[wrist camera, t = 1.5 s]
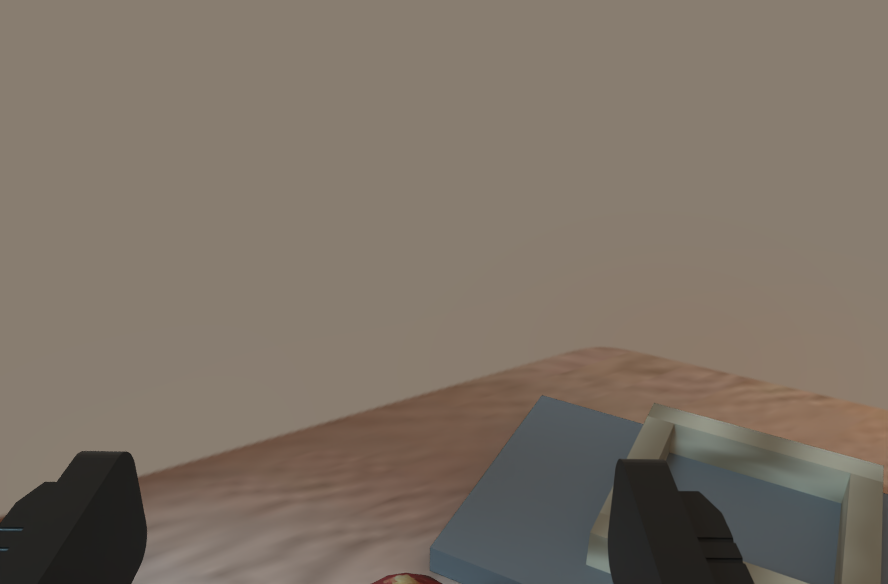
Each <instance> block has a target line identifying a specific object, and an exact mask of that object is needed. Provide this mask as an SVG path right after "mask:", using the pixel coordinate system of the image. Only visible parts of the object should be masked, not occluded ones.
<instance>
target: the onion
mask: <svg viewBox="0 0 888 584" xmlns="http://www.w3.org/2000/svg"><path fill="white" fill-rule="evenodd" d="M372 584H442V583H440V582H438V581H437V580H435V579H433V578H431V577H430V576H426V575H418V574H410V573H402V574H395V575H388V576H386V577H384V578H382V579H380V580H378V581H376V582H374V583H372Z"/></svg>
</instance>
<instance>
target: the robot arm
mask: <svg viewBox="0 0 888 584" xmlns="http://www.w3.org/2000/svg"><path fill="white" fill-rule="evenodd" d="M146 541H147V526H146V520H145V514H144V509H143V504H142V499H141V493H140V488H139V483H138V478H137V473H136V467H135V463H134V459H133V457H132V455H131V454H130V453H129V452H105V451H101V452H99V451H82V452H80V453H78V454H77V455H76V456H75V457H74V459H73V460H72V462H71V463H70V464H69V466H68V467H67V469H66V470H65V471H64V473H63V474H62V475H61V477H60V478H59V480H58V481H57V482H44V483H43V484H41V485H40V486H38V487H37V488H36V489H34V490H33V491H32V492H30V493H29V494H27V495H26V496H25V497H23V498H22V499H20V500H19V501H18V502H16V503H15V505H14V506H13V507H12V509H11V510H10V511H9V512H8V514H7V515H6V516H5V518H4V519H3V520H2V522H1V523H0V584H131V583H132V581H133V579H134V577H135V575H136V573H137V571H138V569H139V567H140V565H141V563H142V560H143V557H144V553H145V548H146ZM608 559H609V567H610V572H611V576H612V580H613V584H755V583H754V581H753V579H752V577H751V575H750V573H749V570H748V568H747V566H746V564H745V563H743V557H742V555H741V553H740V551H739V549H738V547H737V544H736V543H734V541H733V536H732V534H731V531H730V529H729V527H728V525H727V523H726V521H725V518H724V516H723V514H722V512H721V511H719V510H718V509H717V508H716V507H715V506H714V505H713V504H712V503H711V502H710V501H709V500H708V499H707V498H706V497H705V496H704V495H703V494H702V493H700V492H699V491H678V489H677V486H676V484H675V481H674V479H673V476H672V474H671V471H670V469H669V466H668V464H667V462H666V461H665V460H664V459H618V461H617V464H616V468H615V476H614V485H613V493H612V502H611V511H610V519H609V528H608Z"/></svg>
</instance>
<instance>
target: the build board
mask: <svg viewBox="0 0 888 584" xmlns="http://www.w3.org/2000/svg"><path fill="white" fill-rule="evenodd" d="M642 426H643V424H641V423H637V422H634V421H630V420H627V419H623V418H620V417H616V416H613V415H609V414H606V413H602V412H599V411H595V410H592V409H588V408H585V407H581V406H578V405H574V404H571V403H567V402H564V401H560V400H557V399H553V398H550V397H546V396H543V395H542V396H541V397H540V399H539V400H538V401H537V403H536V404H535V405H534V407H533V408H532V410H531V411H530V412H529V414H528V415H527V416H526V418H525V419H524V420H523V422H522V423H521V424H520V426H519V427H518V429H517V430H516V431H515V433H514V434H513V435H512V437H511V438H510V439H509V441H508V442H507V444H506V445H505V446H504V448H503V449H502V450H501V452H500V453H499V454H498V456H497V457H496V459H495V460H494V461H493V463H492V464H491V465H490V467H489V468H488V469H487V471H486V472H485V473H484V475H483V476H482V478H481V479H480V480H479V482H478V483H477V484H476V486H475V487H474V488H473V490H472V491H471V493H470V494H469V495H468V497H467V498H466V499H465V501H464V502H463V503H462V505H461V506H460V507H459V509H458V510H457V512H456V513H455V514H454V516H453V517H452V518H451V520H450V521H449V522H448V524H447V525H446V527H445V528H444V529H443V531H442V532H441V533H440V535H439V536H438V537H437V539H436V540H435V542H434V543H433V544H432V546H431V547H430V571H433V572H435V573H438V574H440V575H443V576H445V577H447V578H450V579H452V580H455V581H457V582H460V583H462V584H613V580H612V576H611V574H610V573H607V572H604V571H602V570H599V569H596V568H594V567H591V566H588V565H586V560H587V553H588V545H589V537H590V532H591V530H592V528H593V526H594V523H595V521H596V519H597V517H598V515H599V513H600V511H601V509H602V507H603V505H604V503H605V501H606V499H607V497H608V495H609V493H610V491H611V489H612V487H613V485H614V476H615V468H616V464H617V461H618V459H627V457H628V455H629V453H630V451H631V449H632V447H633V445H634V443H635V441H636V439H637V437H638V435H639V433H640V430H641V428H642ZM666 462H667V464H668V466H669V469H670V471H671V474H672V476H673V479H674V481H675V484H676V486H677V489H678V491H699V492H700V493H702V494H703V495H704V496H705V497H706V498H707V499H708V500H709V501H710V502H711V503H712V504H713V505H714V506H715V507H716V508H717V509H718V510H719V511H721V512H722V514H723V516H724V518H725V521H726V523H727V525H728V527H729V529H730V531H731V534H732V536H733V541H734V543H736V544H737V547H738V549H739V551H740V553H741V555H742V557H743V561H744V562H747V563H750V564H753V565H756V566H759V567H762V568H765V569H768V570H770V571H773V572H776V573H779V574H782V575H785V576H788V577H791V578H794V579H797V580H800V581H803V582H806V583H809V584H834V577H835V566H836V555H837V545H838V534H839V523H840V513H841V503H838V502H834V501H831V500H828V499H824V498H821V497H818V496H814V495H811V494H808V493H804V492H801V491H797V490H794V489H791V488H787V487H784V486H781V485H777V484H774V483H771V482H767V481H764V480H760V479H757V478H754V477H750V476H747V475H744V474H740V473H737V472H733V471H730V470H727V469H723V468H720V467H717V466H713V465H710V464H707V463H703V462H700V461H696V460H693V459H690V458H686V457H683V456H680V455H676V454H673V453H670V452H669V454H668V456H667V459H666ZM881 584H888V494H885V493H883V511H882V553H881Z"/></svg>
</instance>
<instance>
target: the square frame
mask: <svg viewBox="0 0 888 584" xmlns="http://www.w3.org/2000/svg"><path fill="white" fill-rule="evenodd" d="M669 452H670V453H673V454H676V455H680V456H683V457H686V458H690V459H693V460H696V461H700V462H703V463H707V464H710V465H713V466H717V467H720V468H723V469H727V470H730V471H733V472H737V473H740V474H744V475H747V476H750V477H754V478H757V479H760V480H764V481H767V482H771V483H774V484H777V485H781V486H784V487H787V488H791V489H794V490H797V491H801V492H804V493H808V494H811V495H814V496H818V497H821V498H824V499H828V500H831V501H834V502H838V503H841V513H840V523H839V534H838V545H837V555H836V566H835V577H834V584H881V553H882V511H883V469H884V466H883V465H879V464H875V463H872V462H868V461H865V460H861V459H857V458H854V457H850V456H846V455H843V454H839V453H835V452H832V451H828V450H824V449H821V448H817V447H813V446H810V445H806V444H802V443H799V442H795V441H791V440H788V439H784V438H781V437H777V436H773V435H770V434H766V433H762V432H759V431H755V430H751V429H748V428H744V427H740V426H737V425H733V424H729V423H726V422H722V421H718V420H715V419H711V418H707V417H704V416H700V415H697V414H693V413H689V412H686V411H682V410H678V409H675V408H671V407H667V406H664V405H660V404H656V403H654V404H653V406H652V408H651V410H650V412H649V414H648V416H647V418H646V420H645V422H644V424H643V426H642V428H641V430H640V433H639V435H638V437H637V439H636V441H635V443H634V445H633V447H632V449H631V451H630V453H629V455H628V457H627V459H664V460H665V461H666V459H667V456H668V454H669ZM612 493H613V487H612V489H611V491H610V493H609V495H608V497H607V499H606V501H605V503H604V505H603V507H602V509H601V511H600V513H599V515H598V517H597V519H596V521H595V523H594V526H593V528H592V530H591V532H590V537H589V545H588V553H587V560H586V565H588V566H591V567H594V568H596V569H599V570H602V571H604V572H607V573H610V574H611V572H610V567H609V559H608V528H609V519H610V511H611V502H612ZM743 563H745V564H746V566H747V568H748V570H749V573H750V575H751V577H752V579H753V581H754V583H755V584H809V583H806V582H803V581H800V580H797V579H794V578H791V577H788V576H785V575H782V574H779V573H776V572H773V571H770V570H768V569H765V568H762V567H759V566H756V565H753V564H750V563H747V562H744V561H743Z"/></svg>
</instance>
